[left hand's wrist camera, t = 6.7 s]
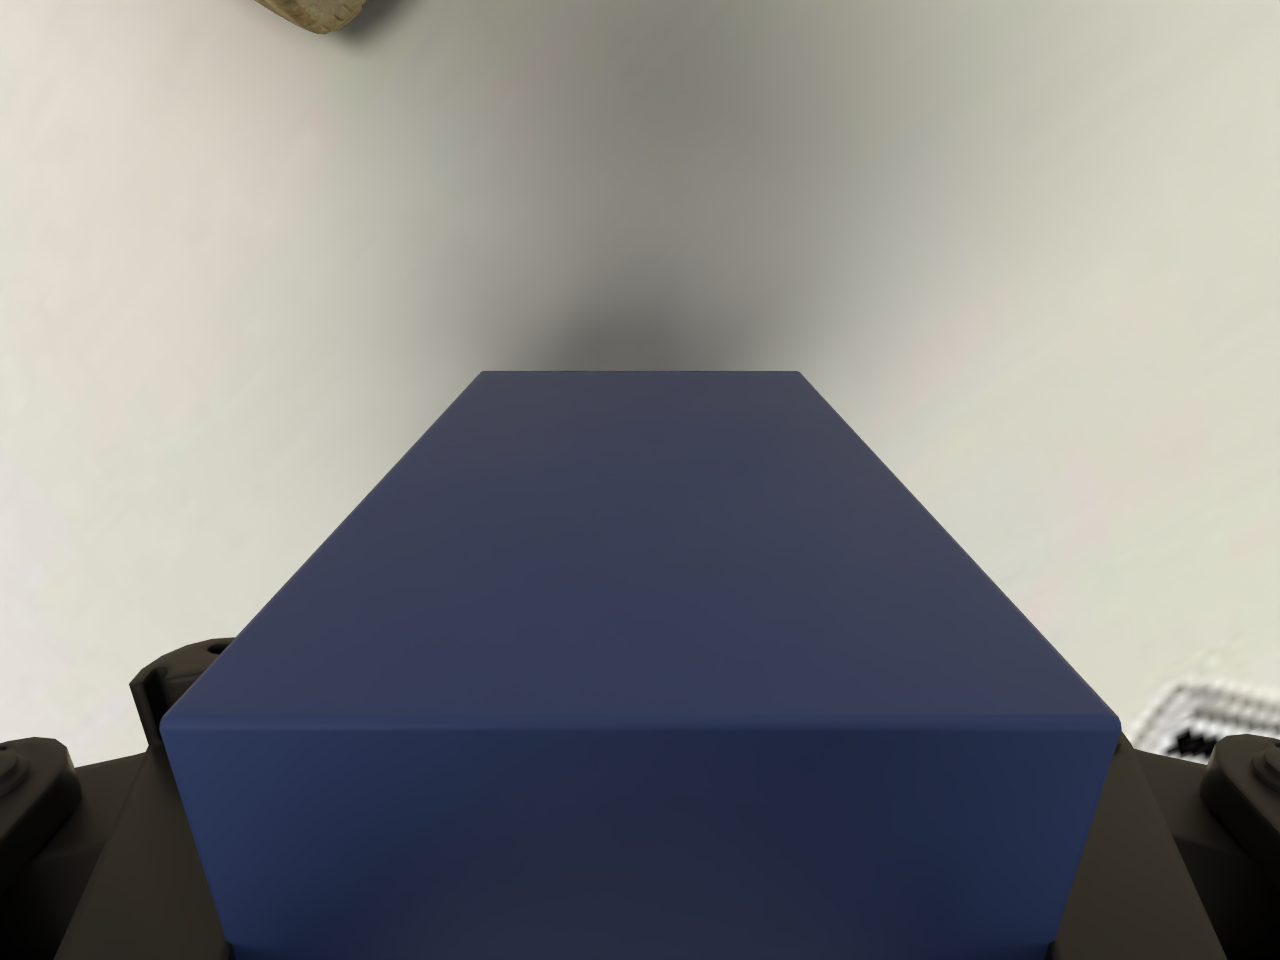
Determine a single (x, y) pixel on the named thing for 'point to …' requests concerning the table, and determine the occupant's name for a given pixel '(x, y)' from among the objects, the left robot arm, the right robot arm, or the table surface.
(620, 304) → the table surface
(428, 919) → the box
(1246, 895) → the left robot arm
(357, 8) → the sculpture
